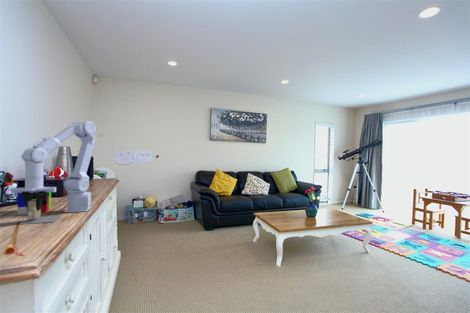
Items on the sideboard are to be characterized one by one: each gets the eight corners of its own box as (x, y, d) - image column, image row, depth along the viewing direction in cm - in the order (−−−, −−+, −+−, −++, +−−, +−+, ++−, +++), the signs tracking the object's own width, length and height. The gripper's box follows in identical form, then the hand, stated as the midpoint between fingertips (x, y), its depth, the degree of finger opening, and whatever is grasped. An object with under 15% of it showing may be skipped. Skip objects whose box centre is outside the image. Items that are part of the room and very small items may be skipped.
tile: (40, 215, 98) (41, 199, 98) (34, 218, 93) (35, 201, 93) (33, 215, 97) (33, 199, 97) (27, 218, 92) (27, 201, 92)
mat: (60, 216, 101) (61, 216, 101) (53, 222, 93) (53, 221, 93) (30, 218, 98) (30, 217, 98) (19, 224, 90) (19, 223, 90)
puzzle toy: (17, 214, 103) (17, 192, 103) (25, 209, 112) (25, 189, 112) (45, 212, 108) (45, 191, 108) (50, 207, 117) (51, 188, 117)
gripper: (6, 178, 88) (6, 213, 89) (51, 178, 93) (51, 211, 93) (16, 176, 95) (16, 209, 95) (58, 176, 100) (58, 207, 100)
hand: (34, 209), depth 95 cm, fingers closed on tile, 2 cm apart
